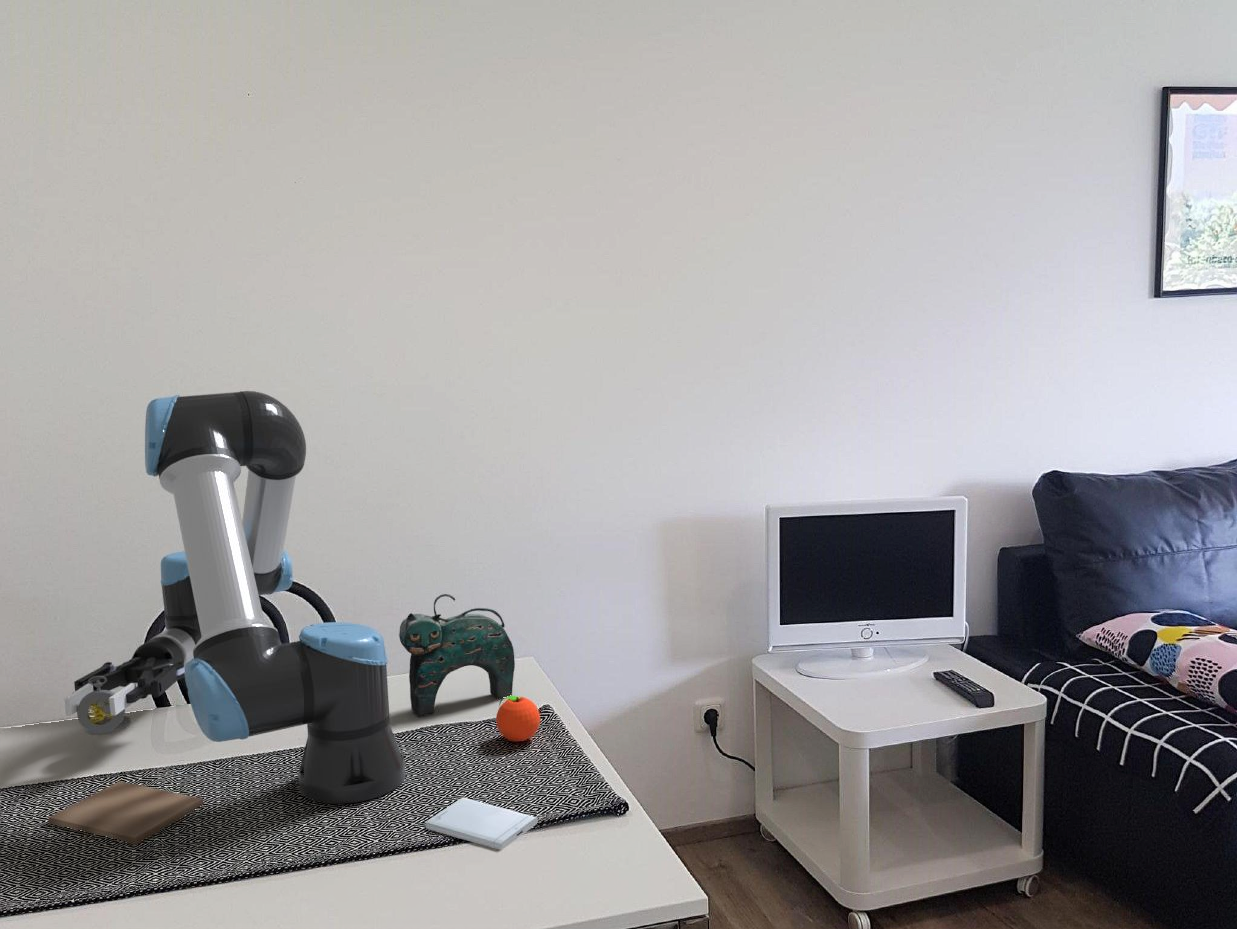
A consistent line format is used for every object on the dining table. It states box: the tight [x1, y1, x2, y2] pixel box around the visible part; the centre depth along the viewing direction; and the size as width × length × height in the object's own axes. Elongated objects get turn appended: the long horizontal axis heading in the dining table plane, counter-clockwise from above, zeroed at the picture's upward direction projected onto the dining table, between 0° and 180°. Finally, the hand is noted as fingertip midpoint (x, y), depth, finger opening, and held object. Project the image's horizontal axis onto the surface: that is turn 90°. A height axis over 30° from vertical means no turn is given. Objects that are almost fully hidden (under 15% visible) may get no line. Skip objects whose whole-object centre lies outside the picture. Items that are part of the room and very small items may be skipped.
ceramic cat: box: [398, 593, 516, 718], centre depth 191 cm, size 20×6×20 cm, turn 119°
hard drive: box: [425, 797, 539, 851], centre depth 148 cm, size 2×8×12 cm
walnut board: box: [47, 780, 204, 846], centre depth 154 cm, size 16×12×1 cm
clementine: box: [495, 695, 541, 743], centre depth 176 cm, size 8×7×7 cm
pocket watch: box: [76, 676, 132, 737], centre depth 172 cm, size 8×8×10 cm
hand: (90, 706), depth 166 cm, fingers closed on pocket watch, 6 cm apart
